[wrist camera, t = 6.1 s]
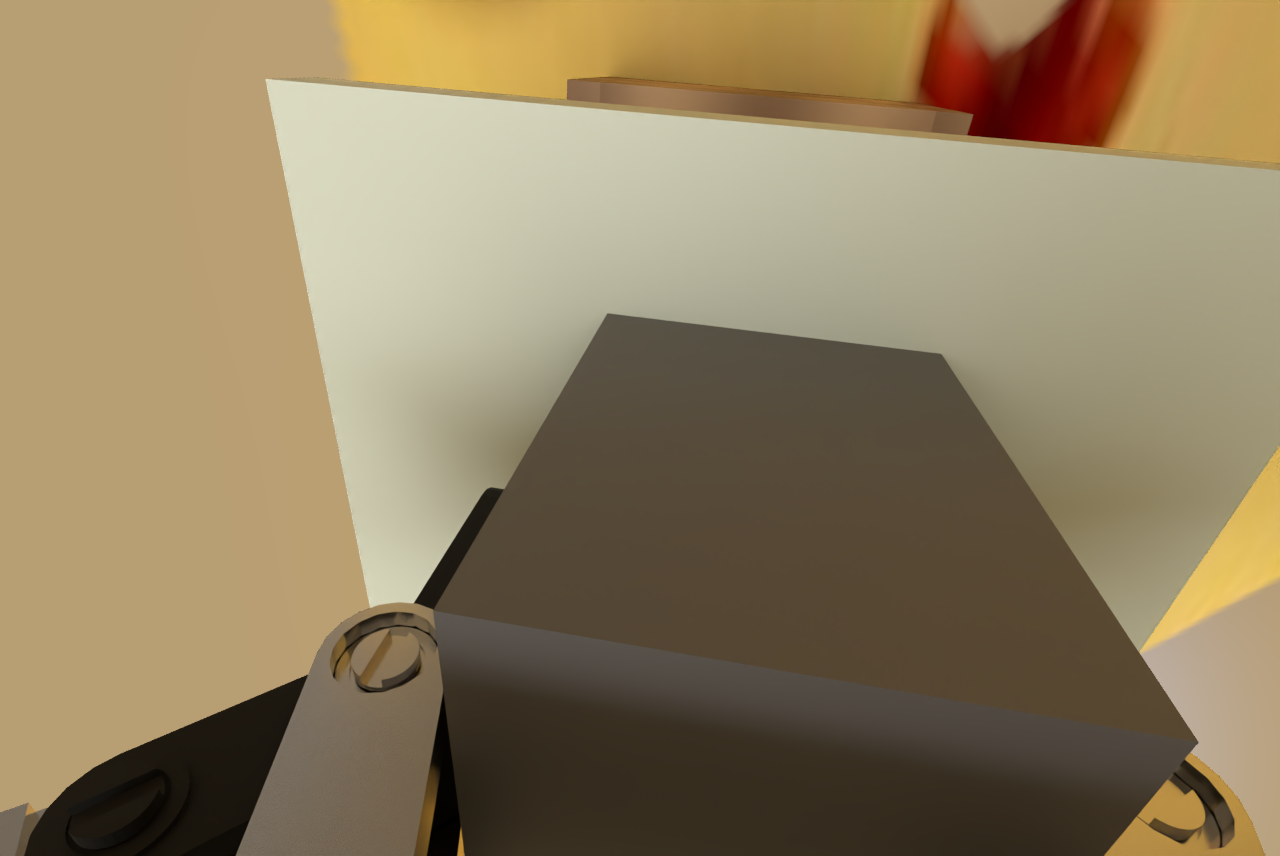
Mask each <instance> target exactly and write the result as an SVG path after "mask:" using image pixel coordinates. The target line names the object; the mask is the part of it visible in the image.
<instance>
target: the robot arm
mask: <svg viewBox="0 0 1280 856" xmlns="http://www.w3.org/2000/svg"><path fill="white" fill-rule="evenodd" d="M503 490H504V489H500V488H493V487H490V488H488V489H486V490H485V492H484V493H483V494H482V495H481V497H480V499H479V500H478V502H477V503H476V505H475V506H474V508H473V510H472V511H471V513H470V514H469V516H468V518H467V519H466V521H465V522H464V524H463V526H462V527H461V529H460V530H459V532H458V533H457V535H456V537H455V538H454V540H453V541H452V543H451V545H450V546H449V548H448V549H447V551H446V553H445V554H444V556H443V557H442V559H441V561H440V562H439V564H438V565H437V567H436V568H435V570H434V572H433V573H432V575H431V576H430V578H429V580H428V581H427V583H426V584H425V586H424V588H423V589H422V591H421V592H420V594H419V595H418V597H417V599H416V600H415V602H414V603H403V602H396V603H389V604H382V605H377V606H374V607H372V608H369V609H366V610H364V611H361V612H358V613H357V614H355V615H353V616H352V617H350V618H348V619H346V620H345V621H343V622H341V623H340V625H338V626H337V627H336V628H335V629H334V630H333V631H332V632H331V633H330V634H329V635H328V636H327V637H326V639H325V640H324V642H323V644H322V645H321V647H320V649H319V650H318V652H317V654H316V657H315V659H314V662H313V664H312V667H311V669H310V672H309V674H308V675H306V676H304V677H301V678H299V679H296V680H294V681H292V682H289V683H287V684H285V685H282V686H280V687H278V688H275V689H273V690H270V691H268V692H266V693H263V694H261V695H259V696H256V697H254V698H252V699H249V700H247V701H244V702H242V703H240V704H237V705H235V706H233V707H230V708H228V709H226V710H223V711H221V712H218V713H216V714H214V715H211V716H209V717H207V718H204V719H202V720H200V721H197V722H195V723H192V724H190V725H188V726H185V727H183V728H180V729H178V730H176V731H173V732H171V733H169V734H166V735H164V736H162V737H160V738H157V739H154V740H152V741H150V742H147V743H145V744H143V745H140V746H138V747H136V748H133V749H131V750H128V751H126V752H124V753H121V754H119V755H117V756H115V757H114V758H112V759H110V760H108V761H106V762H104V763H102V764H100V765H98V766H96V767H94V768H93V769H92V770H90V771H89V772H87V773H86V774H85V775H83V776H82V777H81V778H79V779H78V780H77V781H75V782H74V783H73V784H71V785H70V786H69V787H67V788H66V789H65V790H64V792H62V794H61V795H60V796H59V797H58V798H57V799H56V800H55V801H54V802H53V803H52V804H51V805H50V806H49V807H48V808H45V809H42V810H40V811H37V812H35V811H34V809H33V808H32V807H31V805H30V804H29V803H26V804H23V805H20V806H17V807H15V808H12V809H9V810H6V811H3V812H0V856H464V847H463V839H462V832H461V824H460V816H459V808H458V801H457V793H456V785H455V778H454V770H453V762H452V754H451V747H450V739H449V731H448V723H447V716H446V708H445V700H444V692H443V685H442V677H441V669H440V661H439V654H438V646H437V638H436V631H435V623H434V615H433V610H434V608H435V606H436V605H437V603H438V601H439V600H440V598H441V596H442V595H443V593H444V591H445V589H446V588H447V586H448V584H449V583H450V581H451V579H452V577H453V576H454V574H455V572H456V571H457V569H458V567H459V566H460V564H461V562H462V560H463V559H464V557H465V555H466V554H467V552H468V550H469V548H470V547H471V545H472V543H473V542H474V540H475V538H476V537H477V535H478V533H479V531H480V530H481V528H482V526H483V525H484V523H485V521H486V519H487V518H488V516H489V514H490V513H491V511H492V509H493V508H494V506H495V504H496V502H497V501H498V499H499V497H500V496H501V494H502V492H503ZM1104 856H1265V853H1264V851H1263V848H1262V846H1261V843H1260V841H1259V838H1258V836H1257V833H1256V831H1255V828H1254V826H1253V823H1252V821H1251V819H1250V818H1249V816H1248V814H1247V812H1246V810H1245V809H1244V807H1243V805H1242V803H1241V802H1240V800H1239V798H1238V797H1237V796H1236V795H1235V794H1234V792H1233V791H1232V790H1231V789H1230V788H1229V787H1228V785H1226V783H1225V782H1224V781H1223V780H1222V779H1221V777H1220V776H1219V775H1217V774H1216V773H1215V772H1214V771H1213V770H1211V769H1210V768H1209V767H1208V766H1207V765H1206V764H1204V763H1203V762H1202V761H1201V760H1200V759H1198V758H1197V757H1196V756H1195V755H1193V754H1191V753H1189V754H1188V756H1187V757H1186V758H1185V759H1184V760H1183V762H1182V763H1181V764H1180V765H1179V766H1178V768H1177V769H1176V770H1175V771H1174V772H1173V774H1172V775H1171V776H1170V777H1169V778H1168V780H1167V781H1166V782H1165V783H1164V784H1163V786H1162V787H1161V788H1160V789H1159V790H1158V792H1157V793H1156V794H1155V795H1154V796H1153V798H1152V799H1151V800H1150V801H1149V802H1148V804H1147V805H1146V806H1145V807H1144V808H1143V810H1142V811H1141V812H1140V813H1139V814H1138V816H1137V817H1136V818H1135V819H1134V820H1133V822H1132V823H1131V824H1130V825H1129V826H1128V828H1127V829H1126V830H1125V831H1124V832H1123V834H1122V835H1121V836H1120V837H1119V838H1118V840H1117V841H1116V842H1115V843H1114V844H1113V846H1112V847H1111V848H1110V849H1109V850H1108V852H1107V853H1106V854H1105V855H1104Z"/></svg>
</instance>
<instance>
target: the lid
mask: <svg viewBox="0 0 1280 856" xmlns="http://www.w3.org/2000/svg"><path fill="white" fill-rule="evenodd" d="M266 84H267V89H268V94H269V99H270V104H271V109H272V114H273V120H274V125H275V130H276V135H277V140H278V145H279V150H280V155H281V160H282V165H283V170H284V175H285V180H286V185H287V190H288V195H289V200H290V205H291V211H292V215H293V220H294V226H295V231H296V235H297V241H298V246H299V251H300V256H301V261H302V266H303V271H304V276H305V281H306V286H307V291H308V297H309V302H310V306H311V312H312V317H313V322H314V327H315V332H316V337H317V342H318V347H319V352H320V357H321V362H322V367H323V372H324V377H325V383H326V387H327V393H328V397H329V403H330V407H331V413H332V417H333V423H334V428H335V432H336V438H337V443H338V448H339V453H340V458H341V463H342V468H343V474H344V478H345V483H346V489H347V493H348V499H349V504H350V509H351V514H352V519H353V524H354V529H355V534H356V539H357V544H358V549H359V554H360V559H361V565H362V569H363V574H364V579H365V585H366V590H367V595H368V600H369V605H370V608H372V607H374V606H377V605H382V604H389V603H396V602H403V603H414V602H415V600H416V599H417V597H418V595H419V594H420V592H421V591H422V589H423V588H424V586H425V584H426V583H427V581H428V580H429V578H430V576H431V575H432V573H433V572H434V570H435V568H436V567H437V565H438V564H439V562H440V561H441V559H442V557H443V556H444V554H445V553H446V551H447V549H448V548H449V546H450V545H451V543H452V541H453V540H454V538H455V537H456V535H457V533H458V532H459V530H460V529H461V527H462V526H463V524H464V522H465V521H466V519H467V518H468V516H469V514H470V513H471V511H472V510H473V508H474V506H475V505H476V503H477V502H478V500H479V499H480V497H481V495H482V494H483V493H484V492H485V490H486V489H488V488H490V487H493V488H500V489H504V490H503V492H502V494H501V496H500V497H499V499H498V501H497V502H496V504H495V506H494V508H493V509H492V511H491V513H490V514H489V516H488V518H487V519H486V521H485V523H484V525H483V526H482V528H481V530H480V531H479V533H478V535H477V537H476V538H475V540H474V542H473V543H472V545H471V547H470V548H469V550H468V552H467V554H466V555H465V557H464V559H463V560H462V562H461V564H460V566H459V567H458V569H457V571H456V572H455V574H454V576H453V577H452V579H451V581H450V583H449V584H448V586H447V588H446V589H445V591H444V593H443V595H442V596H441V598H440V600H439V601H438V603H437V605H436V606H435V608H434V610H433V615H434V623H435V631H436V638H437V646H438V654H439V661H440V669H441V677H442V685H443V692H444V700H445V708H446V716H447V723H448V731H449V739H450V747H451V754H452V762H453V770H454V778H455V785H456V793H457V801H458V808H459V816H460V824H461V832H462V839H463V847H464V855H465V856H1104V855H1105V854H1106V853H1107V852H1108V850H1109V849H1110V848H1111V847H1112V846H1113V844H1114V843H1115V842H1116V841H1117V840H1118V838H1119V837H1120V836H1121V835H1122V834H1123V832H1124V831H1125V830H1126V829H1127V828H1128V826H1129V825H1130V824H1131V823H1132V822H1133V820H1134V819H1135V818H1136V817H1137V816H1138V814H1139V813H1140V812H1141V811H1142V810H1143V808H1144V807H1145V806H1146V805H1147V804H1148V802H1149V801H1150V800H1151V799H1152V798H1153V796H1154V795H1155V794H1156V793H1157V792H1158V790H1159V789H1160V788H1161V787H1162V786H1163V784H1164V783H1165V782H1166V781H1167V780H1168V778H1169V777H1170V776H1171V775H1172V774H1173V772H1174V771H1175V770H1176V769H1177V768H1178V766H1179V765H1180V764H1181V763H1182V762H1183V760H1184V759H1185V758H1186V757H1187V756H1188V754H1189V753H1190V752H1191V751H1192V750H1193V748H1194V747H1195V746H1196V745H1197V744H1198V741H1197V739H1196V738H1195V736H1194V735H1193V733H1192V732H1191V730H1190V729H1189V727H1188V726H1187V724H1186V723H1185V721H1184V720H1183V718H1182V717H1181V715H1180V714H1179V712H1178V711H1177V709H1176V708H1175V706H1174V705H1173V703H1172V702H1171V700H1170V699H1169V697H1168V695H1167V694H1166V693H1165V691H1164V689H1163V688H1162V686H1161V685H1160V683H1159V682H1158V681H1157V679H1156V677H1155V676H1154V674H1153V673H1152V671H1151V670H1150V668H1149V667H1148V665H1147V664H1146V662H1145V661H1144V659H1143V658H1142V656H1141V655H1140V653H1139V652H1140V650H1141V649H1142V647H1143V646H1144V644H1145V643H1146V642H1147V640H1148V639H1149V637H1150V636H1151V634H1152V633H1153V631H1154V630H1155V628H1156V627H1157V625H1158V624H1159V622H1160V621H1161V619H1162V618H1163V616H1164V615H1165V614H1166V612H1167V611H1168V609H1169V608H1170V606H1171V605H1172V603H1173V602H1174V600H1175V599H1176V597H1177V596H1178V594H1179V593H1180V591H1181V590H1182V588H1183V587H1184V586H1185V584H1186V583H1187V581H1188V580H1189V578H1190V577H1191V575H1192V574H1193V572H1194V571H1195V569H1196V568H1197V566H1198V565H1199V563H1200V562H1201V560H1202V559H1203V558H1204V556H1205V555H1206V553H1207V552H1208V550H1209V549H1210V547H1211V546H1212V544H1213V543H1214V541H1215V540H1216V538H1217V537H1218V535H1219V534H1220V532H1221V531H1222V530H1223V528H1224V527H1225V525H1226V524H1227V522H1228V521H1229V519H1230V518H1231V516H1232V515H1233V513H1234V512H1235V510H1236V509H1237V507H1238V506H1239V505H1240V503H1241V502H1242V500H1243V499H1244V497H1245V496H1246V494H1247V493H1248V491H1249V490H1250V488H1251V487H1252V485H1253V484H1254V482H1255V481H1256V479H1257V478H1258V477H1259V475H1260V474H1261V472H1262V471H1263V469H1264V468H1265V466H1266V465H1267V463H1268V462H1269V460H1270V459H1271V457H1272V456H1273V454H1274V453H1275V451H1276V450H1277V449H1278V447H1279V446H1280V164H1279V163H1267V162H1256V161H1245V160H1234V159H1223V158H1212V157H1200V156H1189V155H1178V154H1167V153H1156V152H1144V151H1133V150H1122V149H1111V148H1100V147H1088V146H1077V145H1066V144H1055V143H1044V142H1033V141H1021V140H1010V139H999V138H988V137H977V136H965V135H954V134H943V133H932V132H921V131H909V130H898V129H887V128H876V127H865V126H854V125H842V124H831V123H820V122H809V121H798V120H786V119H775V118H764V117H753V116H742V115H730V114H719V113H708V112H697V111H686V110H675V109H663V108H652V107H641V106H630V105H619V104H607V103H596V102H585V101H574V100H563V99H551V98H540V97H529V96H518V95H507V94H496V93H484V92H473V91H462V90H451V89H440V88H428V87H417V86H406V85H395V84H384V83H373V82H361V81H350V80H339V79H328V78H282V79H266Z"/></svg>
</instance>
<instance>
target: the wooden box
mask: <svg viewBox="0 0 1280 856" xmlns="http://www.w3.org/2000/svg"><path fill="white" fill-rule="evenodd" d="M567 100H574V101H585V102H596V103H607V104H619V105H630V106H641V107H652V108H663V109H675V110H686V111H697V112H708V113H719V114H730V115H742V116H753V117H764V118H775V119H786V120H798V121H809V122H820V123H831V124H842V125H854V126H865V127H876V128H887V129H898V130H909V131H921V132H932V133H943V134H954V135H965V136H967V134H968V130H969V127H970V124H971V120H972V117H973V114H969V113H964V112H959V111H954V110H949V109H944V108H940V107H935V106H930V105H925V104H920V103H911V102H899V101H887V100H876V99H864V98H852V97H840V96H829V95H817V94H805V93H793V92H782V91H770V90H758V89H746V88H735V87H723V86H711V85H699V84H688V83H676V82H664V81H652V80H641V79H629V78H617V77H599V78H583V79H567Z"/></svg>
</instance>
